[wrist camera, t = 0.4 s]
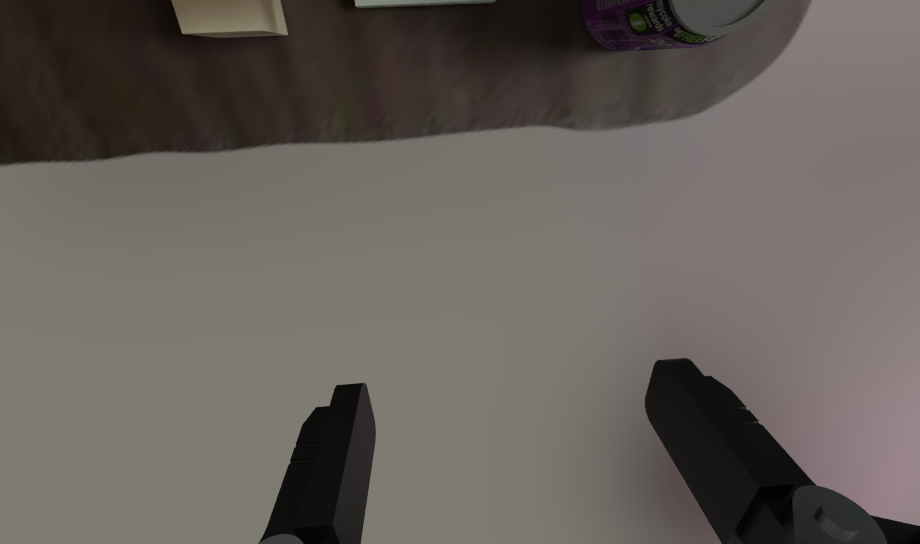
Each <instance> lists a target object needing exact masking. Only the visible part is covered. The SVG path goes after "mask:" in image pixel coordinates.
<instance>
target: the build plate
mask: <svg viewBox="0 0 920 544" xmlns="http://www.w3.org/2000/svg"><path fill="white" fill-rule="evenodd" d="M495 1H496V0H355V6H356V7H357V8H374V7H399V6H425V5H450V4H476V3H494V2H495Z"/></svg>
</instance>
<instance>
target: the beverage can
mask: <svg viewBox="0 0 920 544" xmlns="http://www.w3.org/2000/svg"><path fill="white" fill-rule="evenodd" d="M773 1H774V0H582V14H583V19H584V23H585V26H586V28H587V30H588V32H589V34H590V36H591V37H592V38H593V39H594V41H595V42H597V43H598V44H599V45H600V46H602V47H604V48H606V49H608V50H611V51H619V52H621V51H639V50H657V49H675V48H693V47H700V46H704V45H708V44H711V43H713V42H716V41H718V40H720V39H721V38H723V37H725V36H727V35H728V34H730V33H733V32H735V31H737V30H739V29H741V28H743V27H745V26H747V25H748V24H750V23H751V22H752V21H754V20H755V19H756V18H757V17H759V16H760V15H761V14H762V13H763V12H764V11H765V10H766V9H767V8H768V7H769V5H770V4H771V3H772V2H773Z"/></svg>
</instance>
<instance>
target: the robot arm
mask: <svg viewBox="0 0 920 544" xmlns="http://www.w3.org/2000/svg"><path fill="white" fill-rule="evenodd" d="M645 408H646V413H647V416H648V419H649V421H650V423H651V424H652V426H653V428H654V430H655V431H656V433H657V434H658V436H659V438H660V440H661V441H662V443H663V444H664V446H665V448H666V450H667V451H668V453H669V455H670V457H671V458H672V460H673V462H674V463H675V465H676V467H677V468H678V470H679V472H680V473H681V475H682V477H683V478H684V480H685V482H686V484H687V485H688V487H689V488H690V490H691V492H692V494H693V495H694V497H695V499H696V500H697V502H698V504H699V506H700V507H701V509H702V511H703V512H704V514H705V516H706V517H707V519H708V521H709V522H710V524H711V526H712V528H713V529H714V531H715V533H716V534H717V536H718V538H719V539H720V541H721V543H722V544H920V526H917V525H912V524H907V523H902V522H898V521H893V520H889V519H884V518H879V517H875V516H871V515H869V514H868V513H867V512H866V511H865V510H864V509H863V508H861V507H860V506H859V505H857V504H856V503H855V502H853V501H852V500H850V499H849V498H847V497H845V496H843V495H842V494H840V493H837V492H835V491H833V490H830V489H827V488H824V487H820V486H816V484H814V483H813V482H812V480H811V479H810V478H809V477H808V476H807V475H806V474H805V473H804V472H803V470H802V469H801V468H800V467H799V466H798V465H797V464H796V463H795V462H794V460H793V459H792V458H791V457H790V456H789V455H788V454H787V452H786V451H785V450H784V449H783V448H782V447H781V446H780V445H779V443H778V442H777V441H776V440H775V439H774V438H773V437H772V436H771V434H770V433H769V432H768V431H767V430H766V429H765V428H764V426H763V425H760V424H759V423H758V420H757V419H756V417H755V416H754V415H753V414H752V413H751V412H750V411H749V410H747V409H746V406H745V405H744V404H743V403H742V402H741V401H740V400H739V398H738V397H737V396H736V395H735V394H734V393H733V392H732V390H730V389H729V388H728V387H726V386H725V385H723V384H722V383H720V382H719V381H717V380H716V379H714V378H713V377H711V376H704V375H703V374H702V373H701V372H700V370H699V369H698V368H697V367H696V366H695V365H694V363H693V362H692V361H691V360H689V359H687V358H681V359H668V360H658V361H656V363H655V365H654V368H653V371H652V375H651V378H650V382H649V386H648V390H647V393H646V397H645ZM375 436H376V430H375V420H374V415H373V411H372V407H371V402H370V398H369V394H368V389H367V386H366V384H365V383H358V384H346V385H337V386H336V387H335V389H334V393H333V396H332V399H331V403H330V406H326V407H316V408H315V410H314V411H313V412H312V413H311V415H310V416H309V417H308V418H307V420H306V421H305V422H304V424H303V425H302V428H301V431H300V434H299V436H298V439H297V442H296V448H294V451H293V454H292V457H291V459H290V461H291V462H290V464H289V465H288V468H287V471H286V474H285V477H284V480H283V482H282V486H281V488H280V491H279V494H278V497H277V500H276V503H275V506H274V509H273V511H272V514H271V517H270V520H269V523H268V526H267V528H266V531H265V533H264V535H263V537H262V539H261V540H260V542H259V543H258V544H361V536H362V530H363V522H364V516H365V509H366V502H367V495H368V489H369V481H370V475H371V467H372V461H373V454H374V447H375Z"/></svg>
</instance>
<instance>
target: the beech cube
mask: <svg viewBox="0 0 920 544" xmlns="http://www.w3.org/2000/svg"><path fill="white" fill-rule="evenodd" d="M171 1H172V4H173V7H174V10H175V13H176V16H177V19H178V22H179V25H180V28H181V31H182V34H189V35H198V36H207V37H216V38H232V37H256V36H280V35H288V33H287V28H286V24H285V19H284V15H283V10H282V5H281V1H280V0H171Z"/></svg>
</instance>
